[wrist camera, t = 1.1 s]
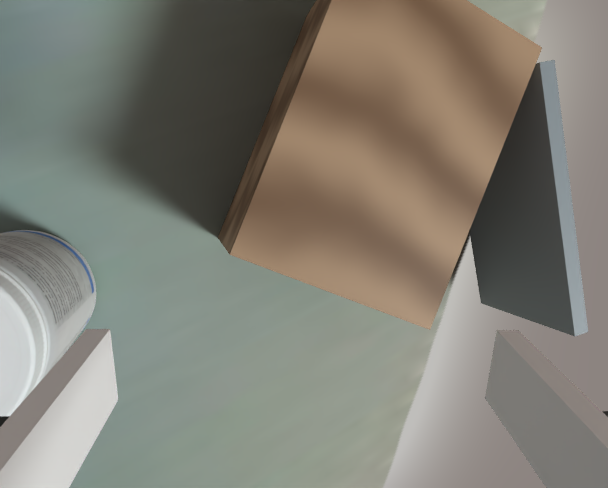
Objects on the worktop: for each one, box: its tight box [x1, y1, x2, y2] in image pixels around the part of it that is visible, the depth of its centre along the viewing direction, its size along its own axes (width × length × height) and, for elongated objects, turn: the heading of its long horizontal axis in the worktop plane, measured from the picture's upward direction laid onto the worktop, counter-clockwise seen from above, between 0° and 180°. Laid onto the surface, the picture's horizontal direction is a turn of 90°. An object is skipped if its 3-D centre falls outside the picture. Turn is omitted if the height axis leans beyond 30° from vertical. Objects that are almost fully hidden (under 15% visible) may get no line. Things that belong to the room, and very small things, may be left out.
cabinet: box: [218, 0, 542, 330], centre depth 33 cm, size 20×14×12 cm
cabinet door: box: [470, 60, 588, 336], centre depth 37 cm, size 20×3×11 cm, turn 13°
